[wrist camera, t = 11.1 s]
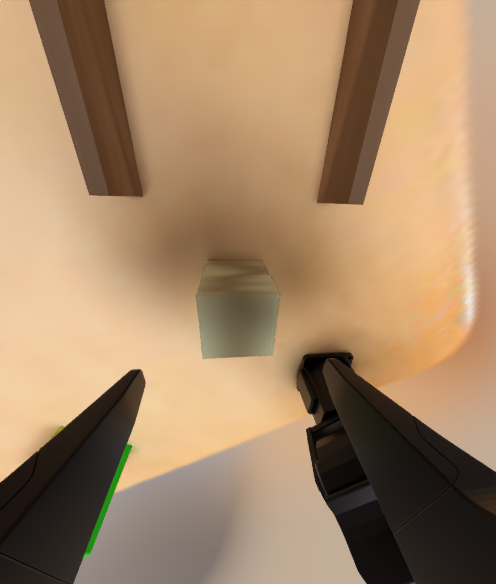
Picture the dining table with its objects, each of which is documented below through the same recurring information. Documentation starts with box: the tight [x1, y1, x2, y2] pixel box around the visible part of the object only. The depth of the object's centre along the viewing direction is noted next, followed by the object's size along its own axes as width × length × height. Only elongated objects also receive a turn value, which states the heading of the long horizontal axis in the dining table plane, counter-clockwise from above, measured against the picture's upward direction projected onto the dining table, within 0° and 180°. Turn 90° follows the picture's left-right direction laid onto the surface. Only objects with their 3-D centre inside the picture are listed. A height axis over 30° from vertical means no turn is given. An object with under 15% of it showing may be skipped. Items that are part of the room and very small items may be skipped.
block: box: [196, 260, 280, 359], centre depth 15 cm, size 5×5×7 cm
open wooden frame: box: [29, 0, 420, 205], centre depth 10 cm, size 16×13×4 cm
